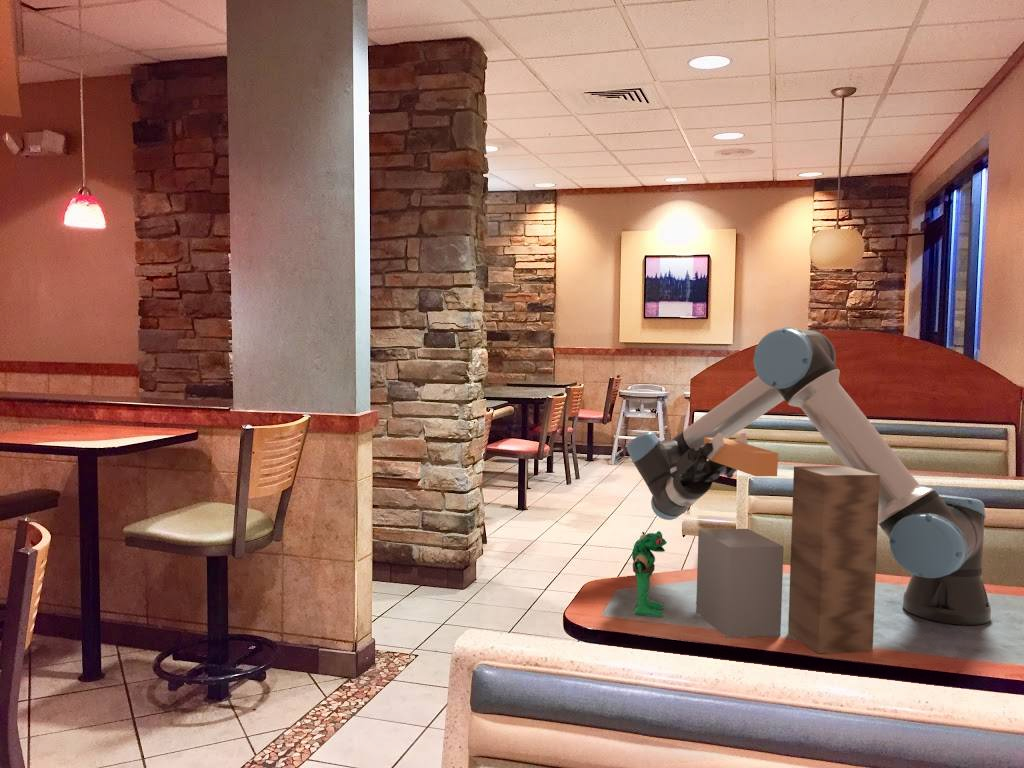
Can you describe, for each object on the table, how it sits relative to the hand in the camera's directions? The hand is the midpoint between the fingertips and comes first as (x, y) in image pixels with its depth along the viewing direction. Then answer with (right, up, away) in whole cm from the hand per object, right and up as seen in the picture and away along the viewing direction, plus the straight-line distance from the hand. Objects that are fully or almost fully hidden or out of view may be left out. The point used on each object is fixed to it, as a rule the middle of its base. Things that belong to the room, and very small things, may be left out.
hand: (733, 439), depth 153 cm
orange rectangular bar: (0, -5, -2) cm, 5 cm away
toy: (-15, -33, +5) cm, 37 cm away
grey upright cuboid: (0, -34, -2) cm, 34 cm away
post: (+14, -35, -10) cm, 39 cm away
